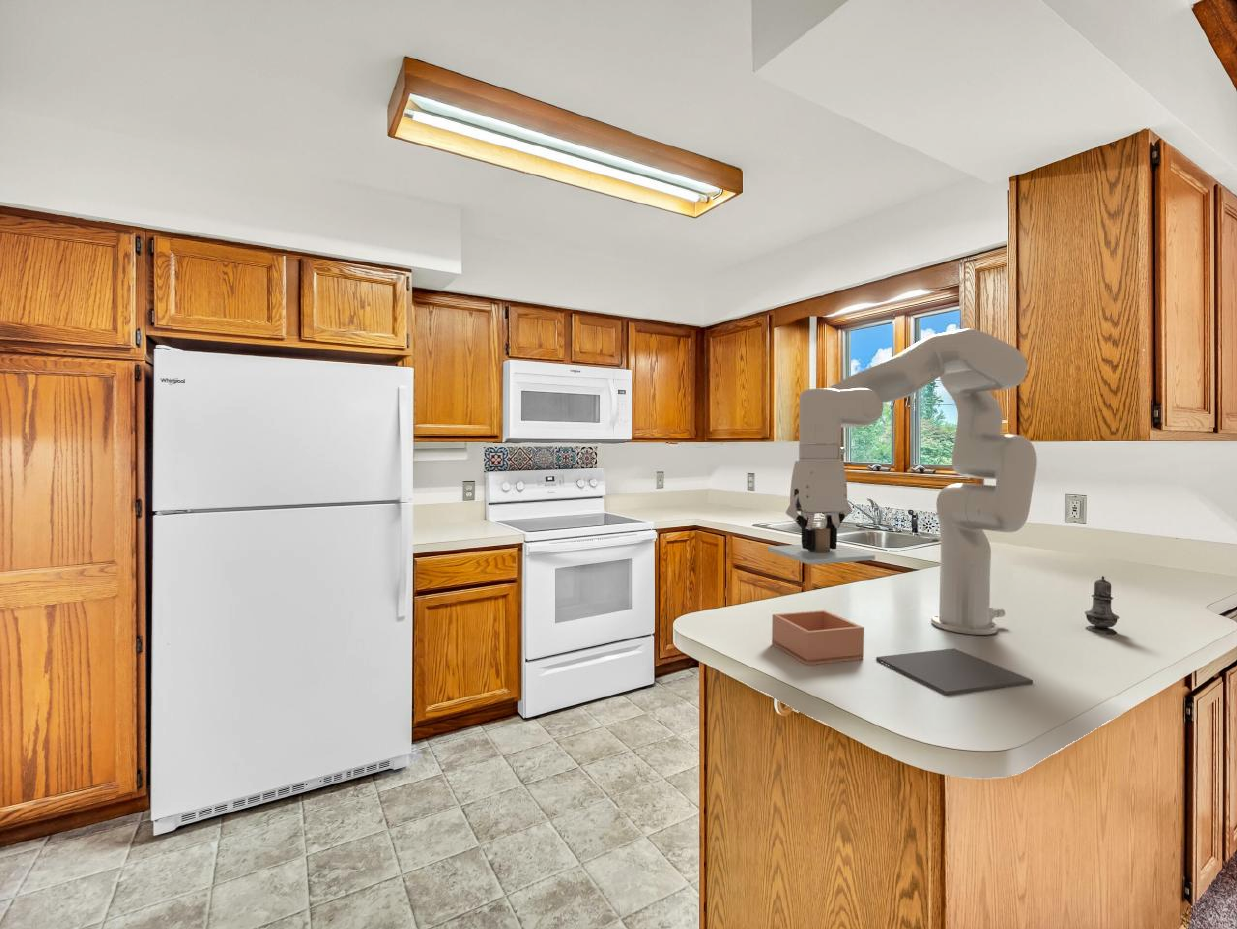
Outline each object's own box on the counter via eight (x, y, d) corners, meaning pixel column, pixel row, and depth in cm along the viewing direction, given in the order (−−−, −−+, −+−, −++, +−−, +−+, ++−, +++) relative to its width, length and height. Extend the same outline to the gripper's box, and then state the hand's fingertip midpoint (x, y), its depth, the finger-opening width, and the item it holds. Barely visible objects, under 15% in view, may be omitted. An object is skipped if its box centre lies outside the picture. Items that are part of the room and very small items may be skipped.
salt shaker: (1115, 636, 123) (1117, 580, 123) (1080, 630, 128) (1082, 575, 127) (1121, 631, 127) (1123, 576, 127) (1087, 625, 131) (1089, 571, 131)
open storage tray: (823, 638, 121) (824, 610, 121) (863, 659, 109) (864, 627, 109) (772, 644, 117) (772, 614, 117) (807, 665, 106) (807, 632, 106)
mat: (953, 651, 114) (954, 648, 114) (1032, 683, 98) (1032, 680, 98) (876, 660, 109) (876, 657, 109) (946, 695, 93) (946, 691, 93)
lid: (827, 549, 122) (828, 521, 121) (875, 562, 108) (875, 531, 108) (767, 553, 118) (767, 524, 117) (808, 567, 104) (809, 535, 104)
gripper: (844, 453, 118) (843, 543, 119) (770, 454, 113) (770, 548, 114) (870, 453, 111) (869, 549, 112) (792, 454, 106) (791, 555, 107)
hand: (819, 547), depth 113 cm, fingers closed on lid, 4 cm apart
